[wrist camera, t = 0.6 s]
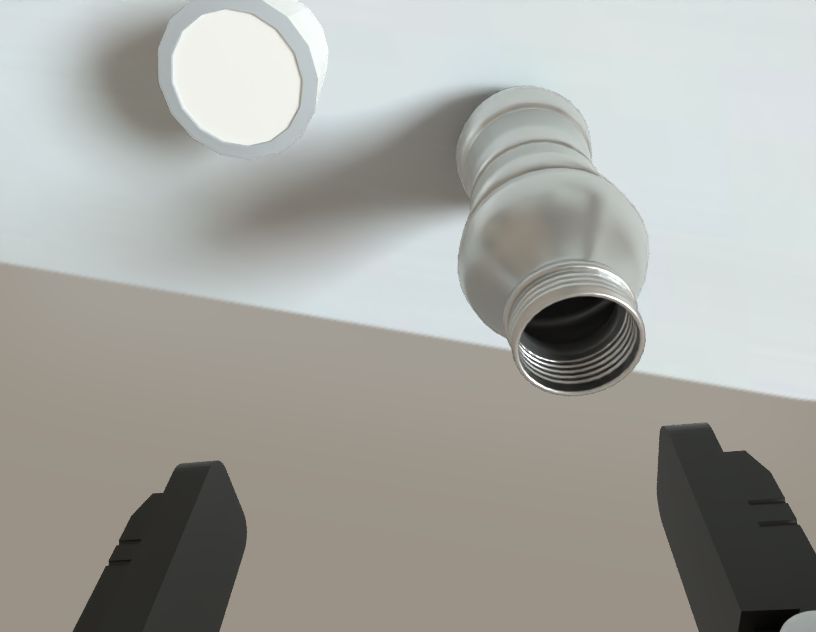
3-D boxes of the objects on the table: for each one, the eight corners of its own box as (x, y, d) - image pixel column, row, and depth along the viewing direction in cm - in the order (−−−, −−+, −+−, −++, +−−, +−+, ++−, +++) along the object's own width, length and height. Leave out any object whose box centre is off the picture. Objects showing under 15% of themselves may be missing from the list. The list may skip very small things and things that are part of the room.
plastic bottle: (592, 175, 37) (717, 405, 20) (473, 211, 38) (493, 454, 21) (567, 57, 34) (689, 209, 17) (438, 100, 35) (429, 281, 18)
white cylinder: (358, 9, 33) (339, 31, 27) (318, 138, 37) (292, 182, 31) (223, -48, 32) (171, -38, 26) (194, 90, 36) (143, 126, 30)
